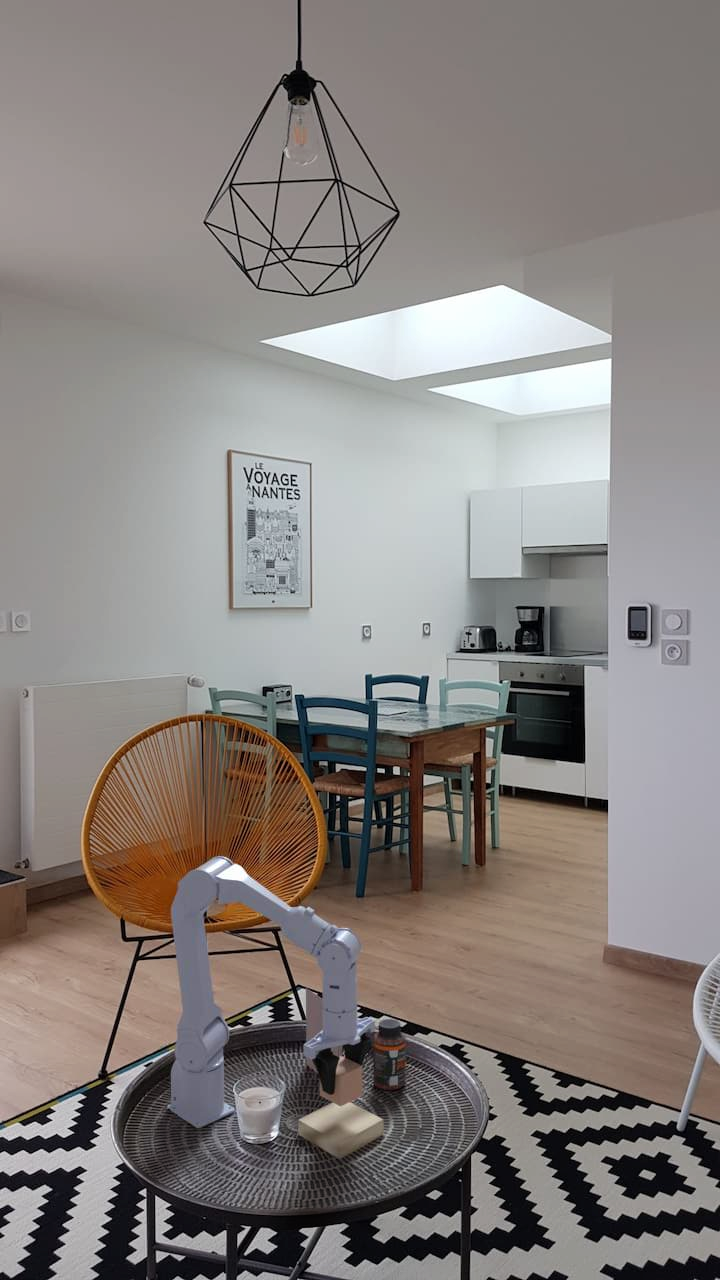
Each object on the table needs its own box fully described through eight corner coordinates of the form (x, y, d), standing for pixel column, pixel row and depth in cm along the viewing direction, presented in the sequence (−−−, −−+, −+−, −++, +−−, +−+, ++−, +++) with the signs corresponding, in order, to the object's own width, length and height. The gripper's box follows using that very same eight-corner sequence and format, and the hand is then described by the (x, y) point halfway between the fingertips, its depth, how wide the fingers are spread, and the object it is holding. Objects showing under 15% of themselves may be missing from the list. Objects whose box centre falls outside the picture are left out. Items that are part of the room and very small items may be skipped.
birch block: (298, 1137, 166) (298, 1119, 166) (341, 1114, 173) (341, 1097, 173) (339, 1161, 159) (339, 1143, 159) (383, 1137, 166) (383, 1119, 166)
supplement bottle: (403, 1093, 180) (402, 1031, 179) (370, 1090, 181) (370, 1029, 180) (408, 1077, 186) (407, 1017, 185) (376, 1074, 187) (376, 1015, 186)
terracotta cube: (319, 1095, 166) (319, 1066, 166) (341, 1084, 169) (341, 1056, 169) (340, 1106, 162) (340, 1076, 162) (362, 1095, 166) (362, 1066, 166)
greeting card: (343, 1090, 181) (342, 1008, 180) (302, 1089, 181) (301, 1008, 180) (345, 1060, 192) (345, 983, 192) (307, 1059, 193) (306, 983, 192)
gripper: (323, 1027, 157) (324, 1111, 158) (387, 999, 167) (388, 1079, 168) (294, 1013, 162) (295, 1095, 163) (358, 988, 172) (358, 1065, 173)
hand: (340, 1086), depth 166 cm, fingers closed on terracotta cube, 5 cm apart
